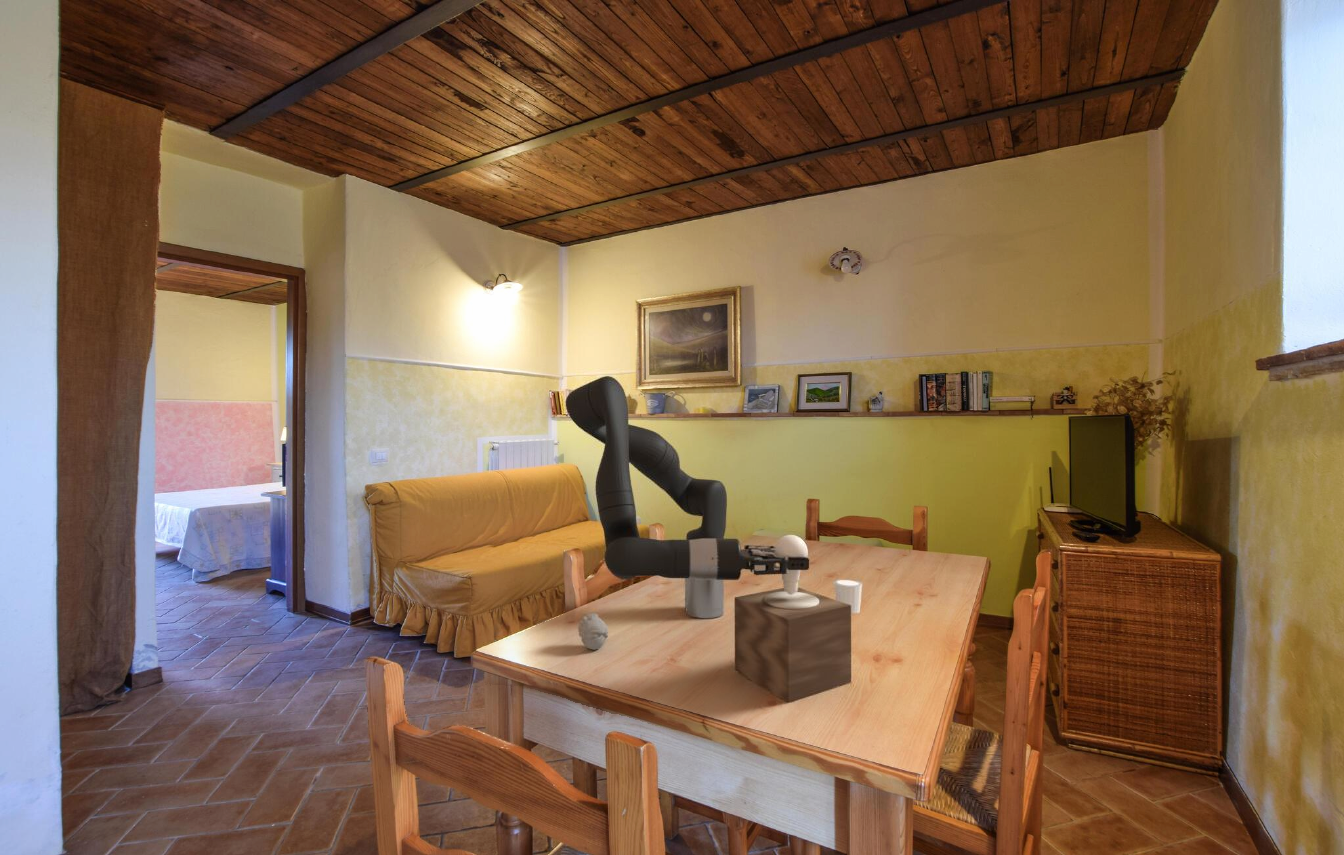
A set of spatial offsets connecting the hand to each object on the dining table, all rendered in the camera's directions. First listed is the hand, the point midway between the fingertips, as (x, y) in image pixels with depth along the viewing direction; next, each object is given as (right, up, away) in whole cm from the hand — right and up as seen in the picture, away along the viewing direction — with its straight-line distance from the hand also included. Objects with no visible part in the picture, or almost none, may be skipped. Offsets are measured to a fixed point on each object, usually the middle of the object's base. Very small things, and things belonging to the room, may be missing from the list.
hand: (804, 559), depth 109 cm
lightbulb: (-2, -7, 0) cm, 7 cm away
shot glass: (+20, -22, +39) cm, 49 cm away
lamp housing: (-2, -22, 0) cm, 22 cm away
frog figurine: (-41, -22, +14) cm, 49 cm away
